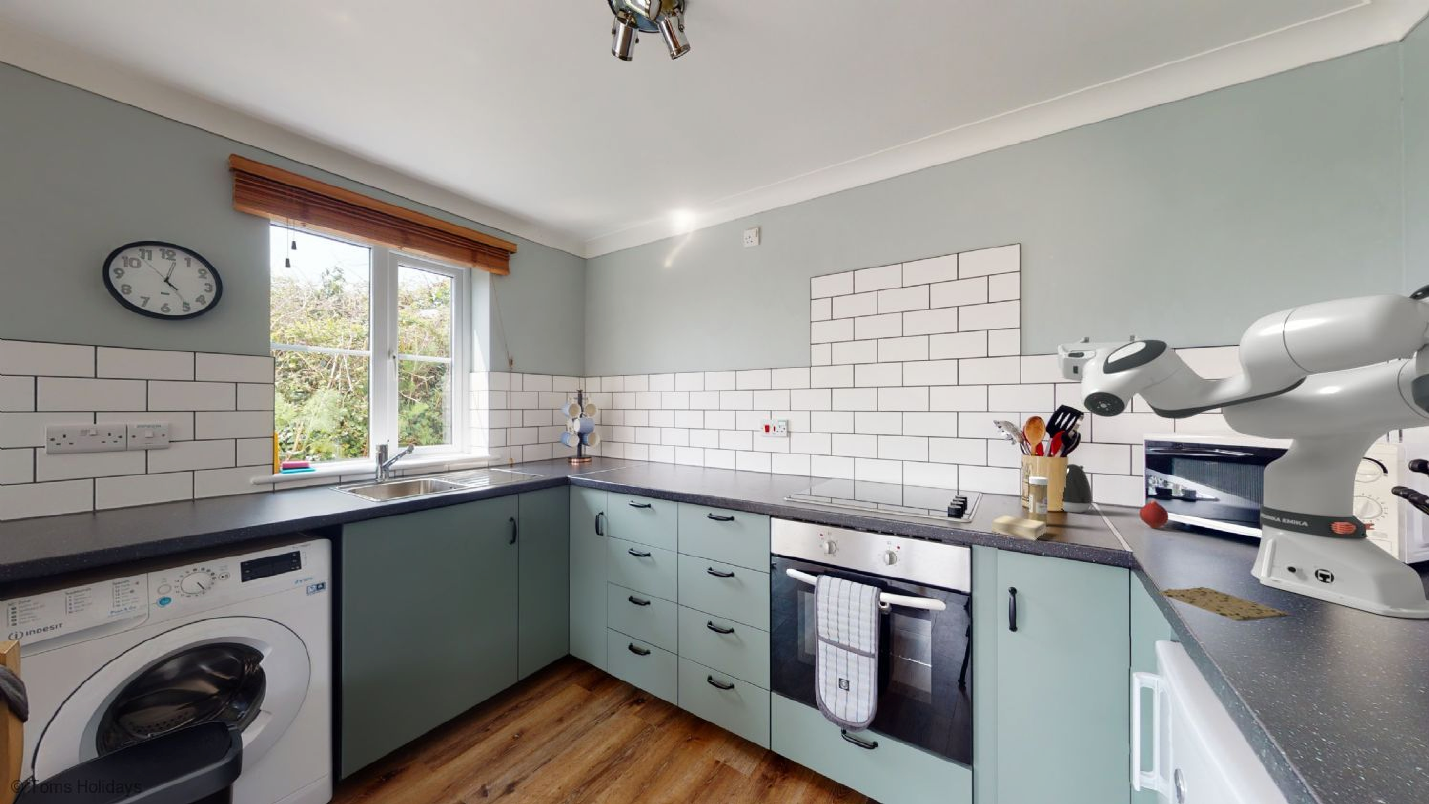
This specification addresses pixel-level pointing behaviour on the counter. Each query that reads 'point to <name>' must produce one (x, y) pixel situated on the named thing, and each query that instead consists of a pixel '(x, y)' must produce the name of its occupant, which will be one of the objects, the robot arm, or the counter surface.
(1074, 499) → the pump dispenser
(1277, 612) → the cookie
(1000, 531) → the block
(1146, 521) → the onion
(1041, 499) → the sprinkles bottle
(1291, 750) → the counter surface
